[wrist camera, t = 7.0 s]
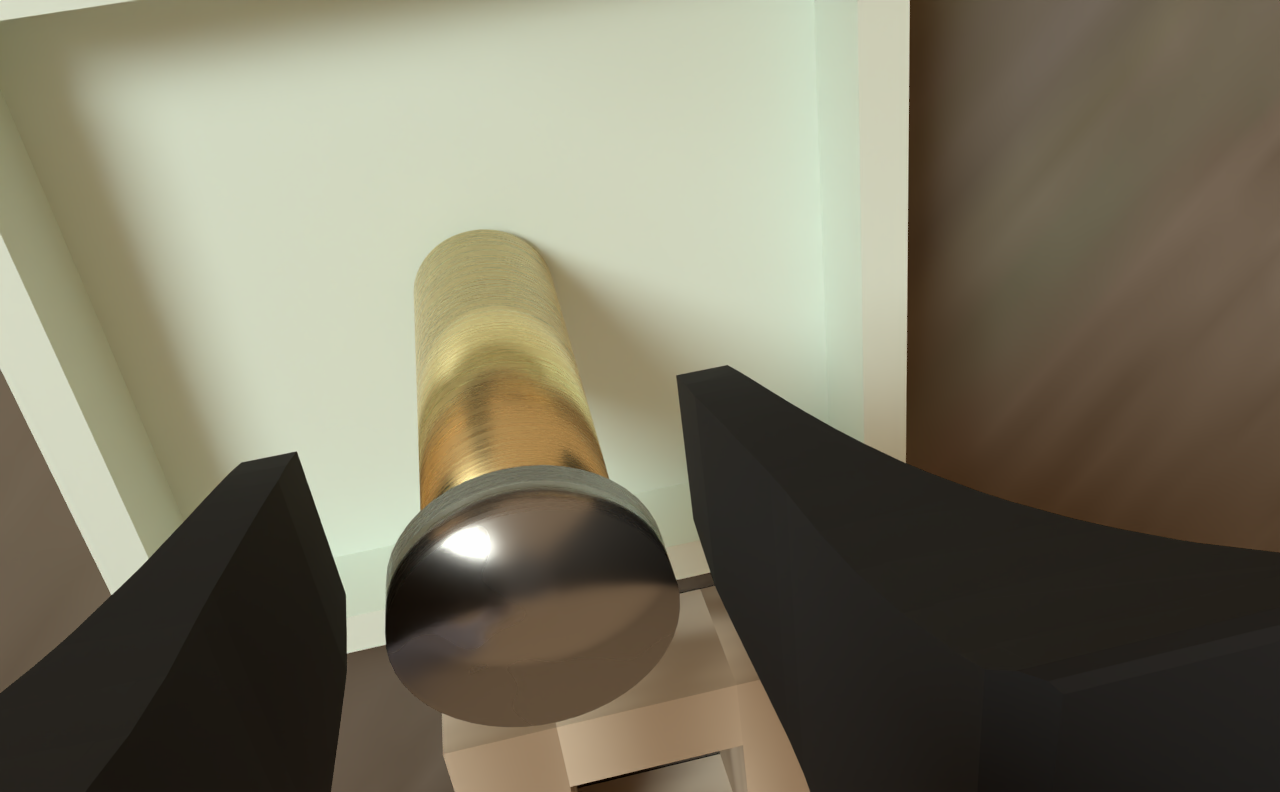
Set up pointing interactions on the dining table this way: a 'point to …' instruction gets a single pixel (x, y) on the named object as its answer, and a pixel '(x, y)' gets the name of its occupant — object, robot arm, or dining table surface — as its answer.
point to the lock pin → (516, 510)
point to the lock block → (647, 728)
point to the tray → (433, 235)
